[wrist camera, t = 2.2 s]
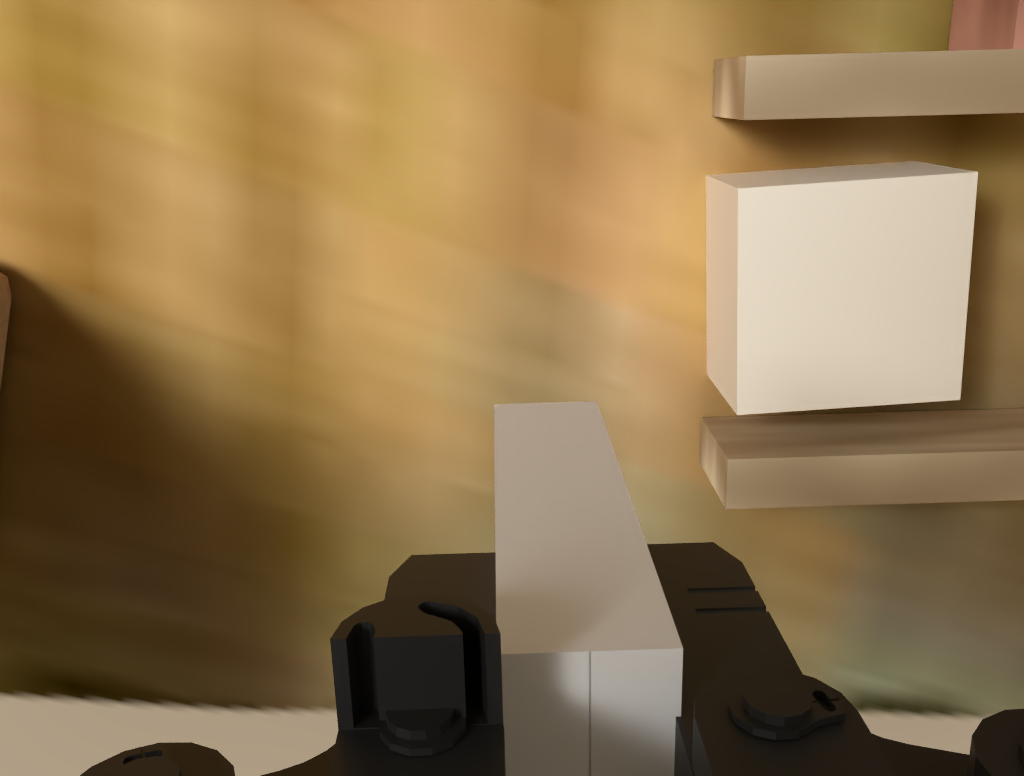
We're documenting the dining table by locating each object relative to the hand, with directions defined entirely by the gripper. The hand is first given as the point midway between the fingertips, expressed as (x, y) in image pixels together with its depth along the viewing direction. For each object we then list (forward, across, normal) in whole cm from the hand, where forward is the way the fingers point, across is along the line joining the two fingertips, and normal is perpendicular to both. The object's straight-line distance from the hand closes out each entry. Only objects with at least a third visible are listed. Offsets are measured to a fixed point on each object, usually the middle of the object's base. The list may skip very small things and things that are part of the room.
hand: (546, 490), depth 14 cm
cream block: (+15, +9, 0) cm, 17 cm away
